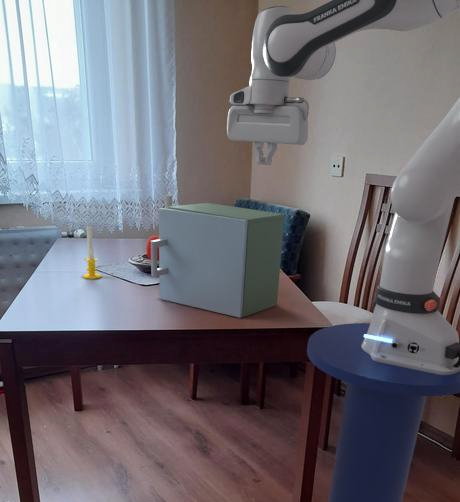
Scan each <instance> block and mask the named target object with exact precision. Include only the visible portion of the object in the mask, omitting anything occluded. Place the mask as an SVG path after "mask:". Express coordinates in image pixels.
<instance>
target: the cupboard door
mask: <svg viewBox="0 0 460 502" xmlns="http://www.w3.org/2000/svg"><path fill="white" fill-rule="evenodd" d="M247 226H248V220H243V219H236V218H229V217H222V216H215V215H207V214H200V213H193V212H186V211H179V210H172V209H165V208H164V207H159V208H158V235H159V239H157V240H152V241H151V263H150V272H151V273H150V277H152V278H159V279H158V280H159V281H158V283H159V284H158V285H159V299H160V300H163V301H167V302H172V303H176V304H180V305H185V306H189V307H193V308H197V309H201V310H205V311H210V312H214V313H219V314H222V315H226V316H231V317H235V318H239V319H241V318H243V317H242V308H243V291H244V275H245V259H246V242H247ZM158 247H159V267H157V248H158Z"/></svg>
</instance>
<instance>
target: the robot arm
mask: <svg viewBox="0 0 460 502" xmlns="http://www.w3.org/2000/svg"><path fill="white" fill-rule="evenodd" d="M459 10H460V0H330V1H328V2H326V3H324V4H322V5H320V6H318V7H316V8H314V9H312V10H310V11H307V12H304V13H299V14H297V13H295V12H294V10H293V9H292V8H291V7H290V6H287V5H275V6H271V7H267V8H265V9H263V10H261V11H260V12H259V13H258V14H257V16H256V18H255V21H254V26H253V32H252V40H251V53H250V54H251V55H250V58H251V65H252V66H251V67H252V68H251V74H250V78H249V85H248V86H246V87H243V88H242V89H239V90H237V91H235V92H233V93H231V94H230V96H229V102H230V104H231V105H232V106H230V108H229V110H228V113H227V123H226V136H227V138H228V140H229V141H234V142H235V141H236V142H250V143H251V142H252V143H253V149H254V152H255V154H256V157H257V158H256V163H257V165H263V166H271V165H272V160H273V157H274V155H275V153H276V151H277V150H278V144H280V145H281V144H282V145H298V146H303V145H305V144H306V142H307V141H308V137H309V118H308V117H309V112H310V105H309V101H307V100H306V99H305V98H304V97H301V96H298V97H294V96H290V86H291V78H294V79H299V80H304V81H315V80H319V79H322V78H323V77H325V76H326V75H327V74H328V73H329V72H330V71H331V69H332V67H333V65H334V63H335V60H336V52H337V51H336V50H337V48H336V42H339V41H341V40H343V39H345V38H347V37H349V36H351V35H353V34H356V33H359V32H362V31H367V30H390V31H396V32H409V31H412V30H417V29H420V28H424V27H426V26H429V25H432V24H433V23H435V22H437V21H440V20H442V19H443V18H445V17H447V16H449V15H451V14H454V13H456V12H457V11H459ZM265 143H266V148H267V152H266V153H265V154H266V155H264V152H263V148H264V147H265ZM459 194H460V97H458V99H457V100H456V102H455V103H454V104H453V106H452V107H451V108H450V109H449V111H448V112H447V114H446V115H445V116H444V118H443V119H442V120H441V121H440V122H439V124H438V125H437V126H436V127H435V128H434V130H433V131H432V132H431V133H430V134H429V135H428V136H427V138H426V139H425V141H424V142H423V143H422V144H421V145H420V147H419V148H418V149H417V151H416V152H415V153H414V154H413V155H412V156H411V158H410V159H409V161H408V162H407V163H406V164H405V166H404V167H403V168H402V169H401V171H400V172H399V173H398V175H397V176H396V178H395V179H394V181H393V184H392V186H391V191H390V202H391V207H392V208H393V210H394V212H395V213H394V217H393V220H392V224H391V228H390V232H389V235H388V238H387V239H388V240H387V243H386V245H385V251H384V256H383V261H382V267H381V273H380V278H379V283H378V284H377V286H376V289H375V293H374V297H373V307H372V308H373V313H372V317H371V320H370V322H369V323H370V326H369V329H368V332H367V334H364V337H365V339H364V341H363V343H362V345H361V347H362V349H363V350H364V351H365V352H366V353H368V354H369V355H370V356H371V358H372V360H374V361H376V362H380V363H385V364H390V365H395V366H400V367H404V368H409V369H414V370H419V371H424V372H428V373H433V374H438V375H452V374H455V373H458V372H460V336H459V335H460V334H459V332H458V331H457V330H456V328H454V326H453V325H451V323H450V322H449V321H448V319H446V317H444V315H442V313H441V312H440V311H439V308H440V306H441V302H443V300H442V299H443V298H444V297H443V295H440V296H439V295H438V294H437V293H436V292H435V291H434V287H435V284H436V278H437V274H438V269H439V264H440V259H441V255H442V251H443V248H444V244H445V240H446V236H447V232H448V228H449V223H450V219H451V215H452V212H453V206H454V203H455V199H456V198H457V197H458V195H459Z"/></svg>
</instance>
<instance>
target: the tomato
mask: <svg viewBox="0 0 460 502" xmlns="http://www.w3.org/2000/svg"><path fill="white" fill-rule="evenodd" d="M157 239H159V234H154V235H152V236H150V237H149V238H148V240H147V243H146V248H145V249H146V257H147V259H148V260H149V259H150V260H151V241H152V240H157ZM157 261H159V247H158V248H157Z"/></svg>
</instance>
